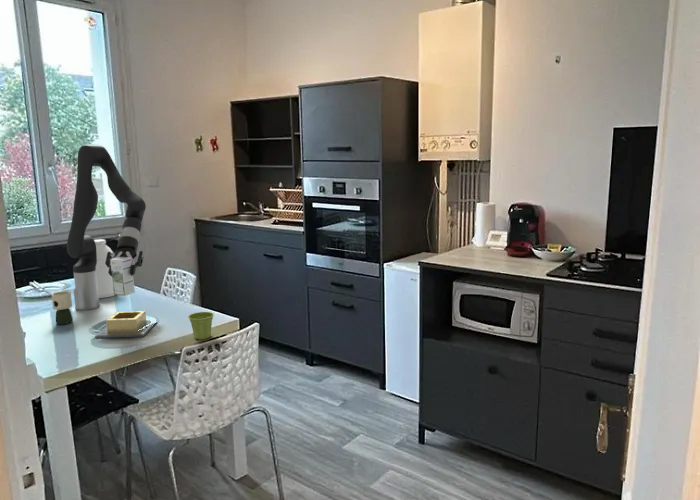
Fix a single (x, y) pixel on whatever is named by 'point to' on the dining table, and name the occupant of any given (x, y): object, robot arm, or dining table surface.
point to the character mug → (62, 306)
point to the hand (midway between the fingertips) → (121, 274)
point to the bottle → (103, 270)
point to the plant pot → (201, 324)
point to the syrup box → (122, 276)
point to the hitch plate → (125, 325)
